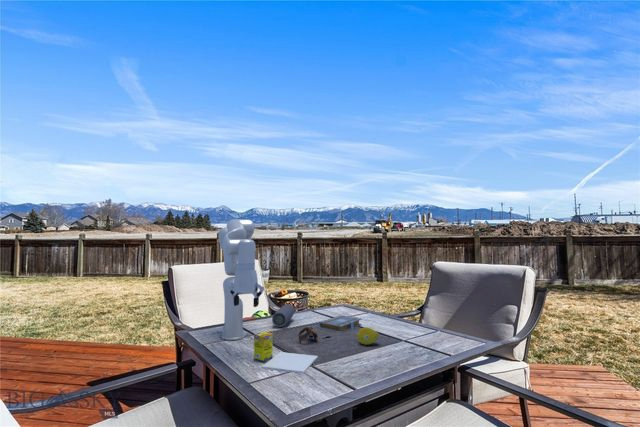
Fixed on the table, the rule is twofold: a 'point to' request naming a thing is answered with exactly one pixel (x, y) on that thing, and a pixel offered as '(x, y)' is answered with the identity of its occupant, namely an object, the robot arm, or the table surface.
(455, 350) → the table surface
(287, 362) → the flat white board
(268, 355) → the supplement box
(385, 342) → the table surface
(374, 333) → the lemon
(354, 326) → the book
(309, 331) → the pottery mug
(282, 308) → the bluetooth speaker
